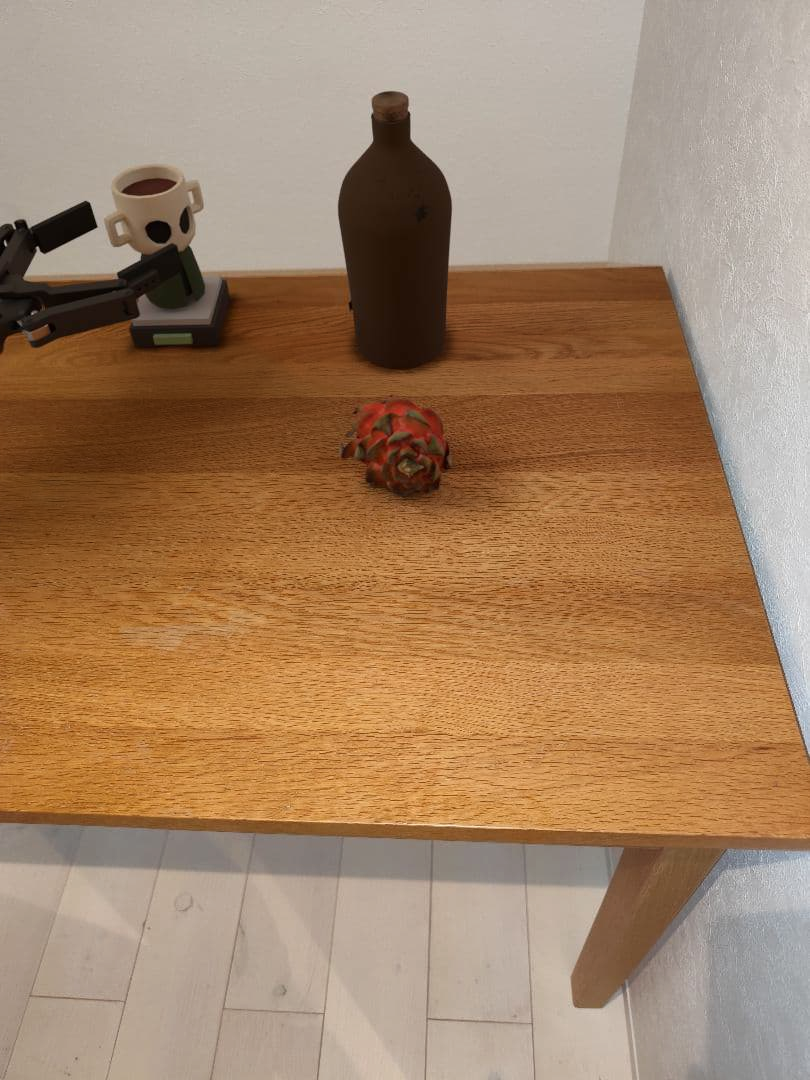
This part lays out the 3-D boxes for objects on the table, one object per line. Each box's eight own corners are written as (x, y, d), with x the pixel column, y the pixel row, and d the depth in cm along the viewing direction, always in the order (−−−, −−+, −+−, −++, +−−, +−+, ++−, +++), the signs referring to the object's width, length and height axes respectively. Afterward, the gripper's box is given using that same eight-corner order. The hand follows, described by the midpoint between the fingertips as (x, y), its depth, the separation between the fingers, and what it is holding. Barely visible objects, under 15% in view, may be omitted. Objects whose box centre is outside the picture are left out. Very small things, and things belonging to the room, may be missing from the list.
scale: (133, 350, 95) (125, 325, 93) (151, 299, 101) (144, 274, 99) (217, 349, 95) (211, 323, 92) (230, 298, 101) (225, 272, 99)
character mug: (152, 332, 92) (117, 213, 82) (115, 304, 95) (78, 187, 86) (238, 289, 96) (214, 172, 87) (200, 264, 100) (174, 149, 90)
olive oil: (468, 329, 95) (474, 85, 77) (420, 385, 89) (413, 135, 71) (383, 303, 99) (368, 65, 80) (331, 355, 93) (303, 110, 75)
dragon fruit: (433, 534, 78) (364, 471, 86) (493, 457, 77) (419, 401, 85) (373, 496, 72) (305, 432, 80) (438, 412, 71) (363, 356, 79)
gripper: (-112, 321, 86) (70, 230, 97) (36, 427, 75) (224, 311, 85) (-151, 251, 81) (47, 162, 91) (3, 353, 69) (209, 239, 80)
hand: (133, 234), depth 88 cm, fingers open, 13 cm apart
